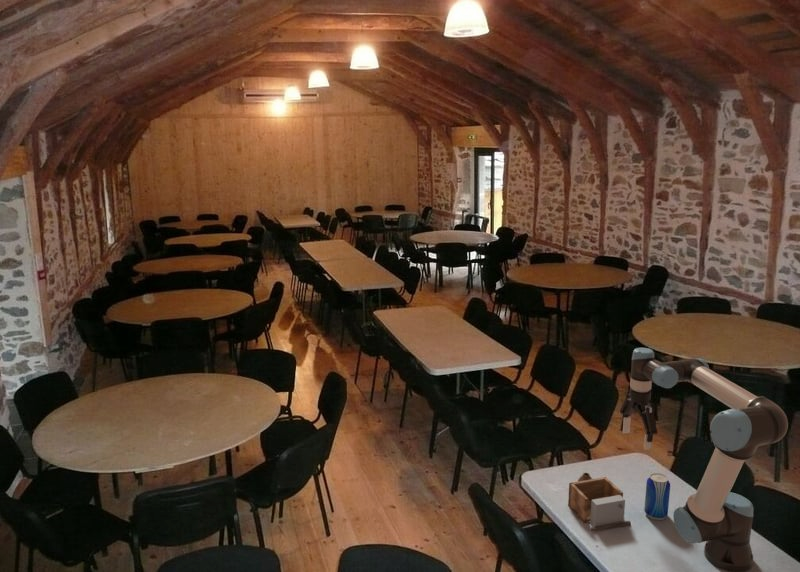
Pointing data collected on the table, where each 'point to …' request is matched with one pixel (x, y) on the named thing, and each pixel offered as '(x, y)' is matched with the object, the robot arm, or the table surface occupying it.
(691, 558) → the table surface
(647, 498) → the beer can
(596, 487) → the box
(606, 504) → the grey flat-topped box
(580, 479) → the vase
